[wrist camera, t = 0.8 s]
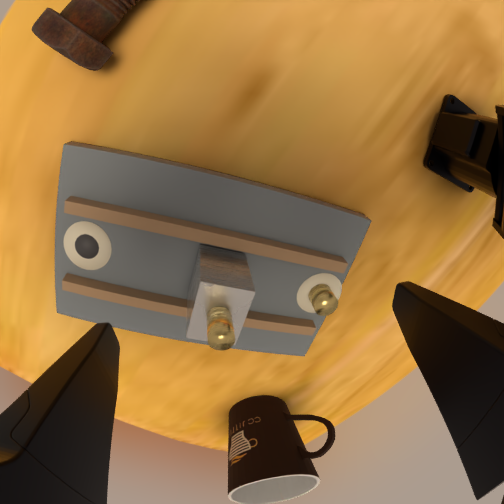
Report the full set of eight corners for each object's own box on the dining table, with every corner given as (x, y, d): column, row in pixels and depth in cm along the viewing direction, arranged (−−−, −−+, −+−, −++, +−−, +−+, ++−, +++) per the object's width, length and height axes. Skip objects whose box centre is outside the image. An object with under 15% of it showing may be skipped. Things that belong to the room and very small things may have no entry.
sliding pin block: (245, 254, 21) (261, 314, 15) (228, 302, 22) (238, 369, 17) (200, 244, 20) (200, 304, 14) (187, 295, 22) (185, 362, 16)
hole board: (367, 215, 22) (381, 227, 20) (303, 347, 28) (310, 364, 26) (71, 141, 17) (57, 146, 15) (61, 304, 22) (52, 320, 20)
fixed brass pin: (334, 285, 23) (342, 297, 22) (324, 304, 24) (331, 317, 23) (313, 281, 23) (320, 293, 21) (304, 301, 24) (310, 314, 22)
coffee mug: (238, 438, 34) (250, 509, 25) (203, 405, 30) (210, 491, 21) (329, 405, 33) (356, 476, 24) (310, 366, 29) (342, 452, 20)
